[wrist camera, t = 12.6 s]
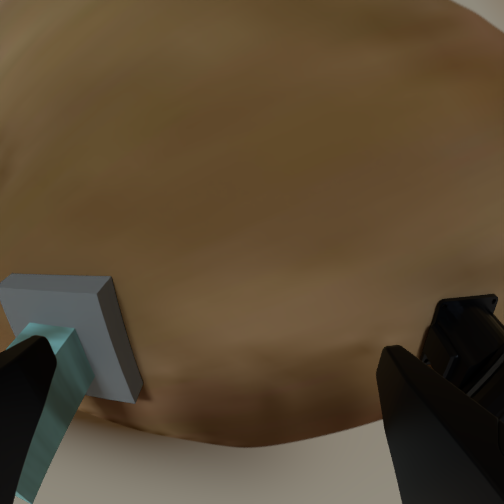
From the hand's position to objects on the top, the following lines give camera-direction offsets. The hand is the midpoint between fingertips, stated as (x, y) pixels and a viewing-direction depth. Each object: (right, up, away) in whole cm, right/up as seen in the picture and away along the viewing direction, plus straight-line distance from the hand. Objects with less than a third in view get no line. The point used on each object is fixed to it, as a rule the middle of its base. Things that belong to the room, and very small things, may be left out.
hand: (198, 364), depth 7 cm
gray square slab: (-14, -4, +17) cm, 22 cm away
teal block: (-14, -5, +14) cm, 21 cm away
